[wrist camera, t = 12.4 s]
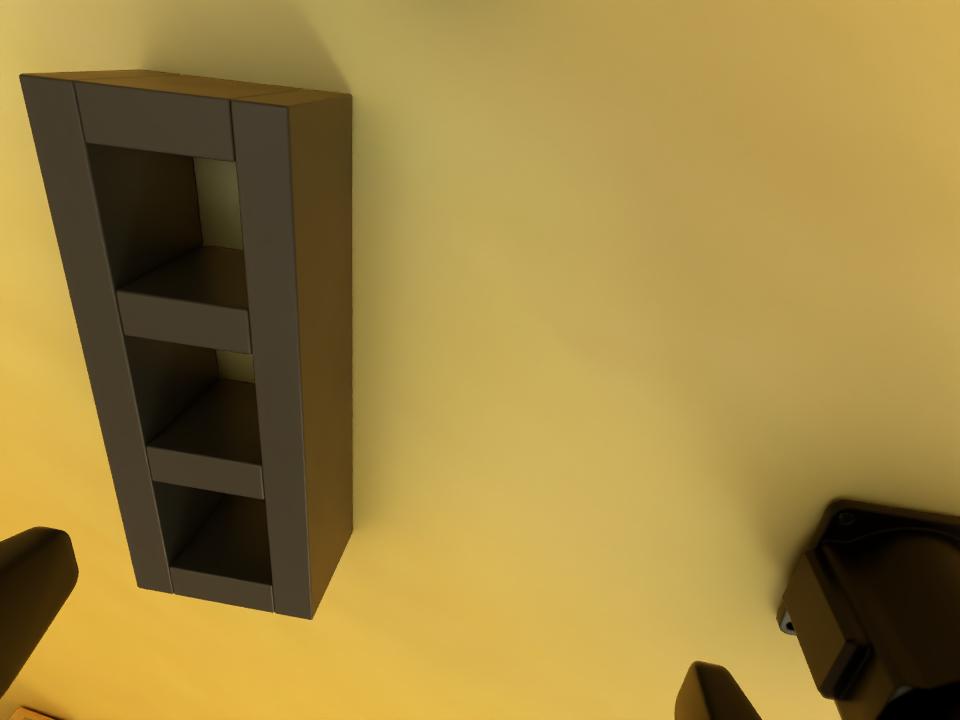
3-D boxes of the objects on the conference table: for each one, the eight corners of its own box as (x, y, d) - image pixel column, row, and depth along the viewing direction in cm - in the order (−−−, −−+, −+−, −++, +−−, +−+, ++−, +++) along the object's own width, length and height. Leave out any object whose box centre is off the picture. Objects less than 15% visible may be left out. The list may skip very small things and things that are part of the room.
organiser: (352, 94, 18) (288, 105, 14) (352, 532, 25) (312, 620, 21) (139, 69, 18) (16, 73, 14) (203, 506, 26) (137, 588, 22)
